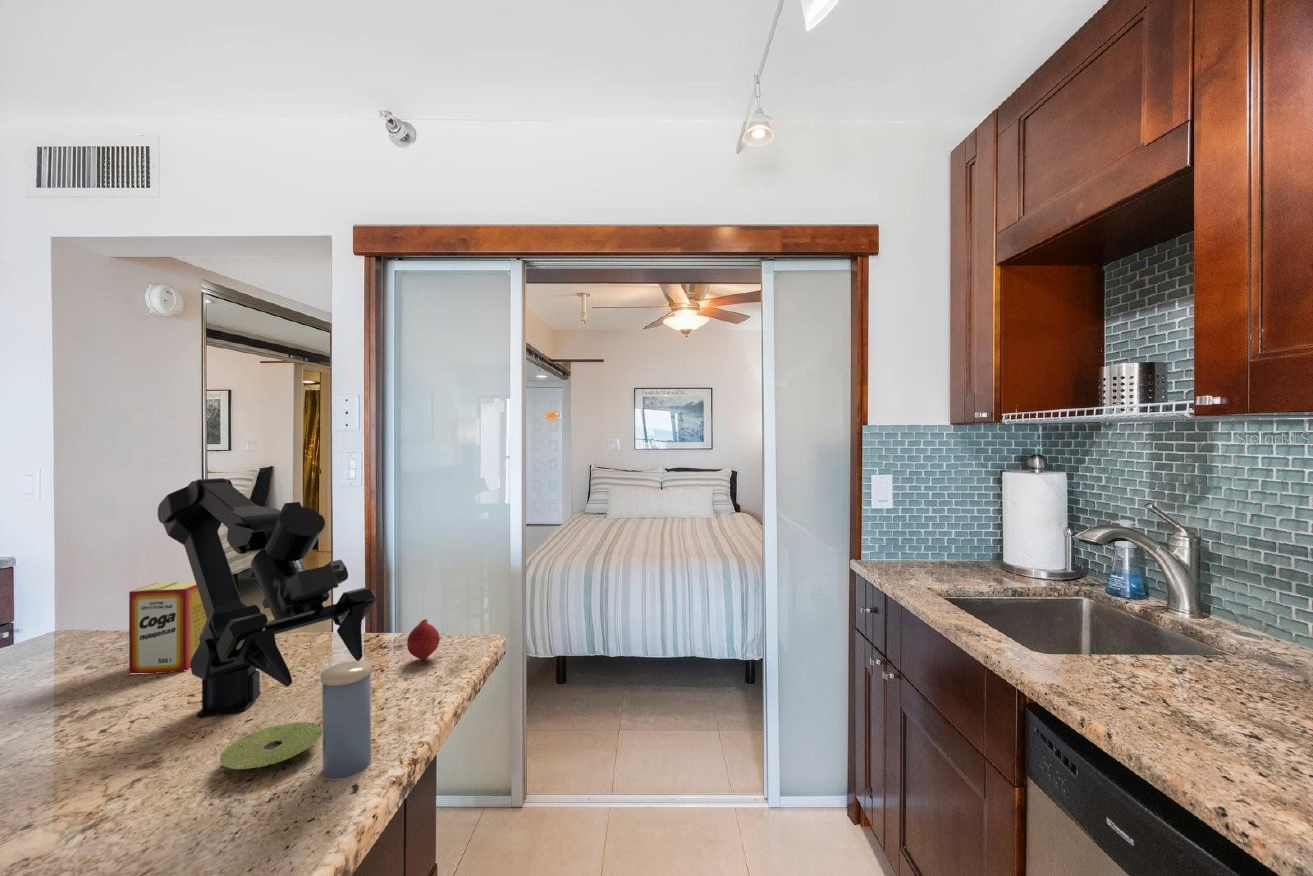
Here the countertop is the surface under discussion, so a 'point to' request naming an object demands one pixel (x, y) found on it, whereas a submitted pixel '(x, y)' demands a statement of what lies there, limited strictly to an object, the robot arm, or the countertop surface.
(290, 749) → the mat
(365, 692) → the canister
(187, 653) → the baking soda box
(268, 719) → the countertop surface
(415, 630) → the onion
